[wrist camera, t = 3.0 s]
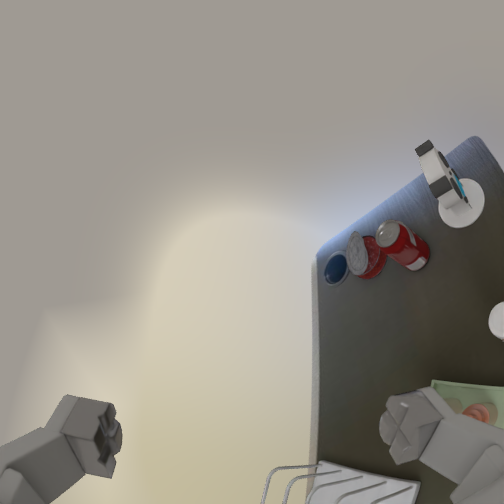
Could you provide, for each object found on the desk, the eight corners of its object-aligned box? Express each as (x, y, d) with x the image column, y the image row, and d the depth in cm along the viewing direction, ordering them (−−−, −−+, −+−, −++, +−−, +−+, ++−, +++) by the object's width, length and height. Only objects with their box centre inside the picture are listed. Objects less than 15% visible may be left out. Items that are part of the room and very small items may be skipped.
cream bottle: (463, 421, 34) (440, 427, 30) (438, 428, 38) (410, 434, 33) (461, 393, 37) (437, 393, 33) (436, 401, 41) (408, 402, 36)
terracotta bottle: (499, 426, 28) (484, 435, 23) (472, 435, 32) (450, 444, 27) (496, 397, 31) (481, 399, 26) (469, 407, 35) (448, 410, 30)
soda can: (432, 267, 53) (402, 244, 48) (405, 275, 59) (372, 254, 53) (429, 237, 56) (400, 211, 51) (404, 246, 61) (372, 223, 56)
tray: (552, 389, 23) (552, 389, 22) (534, 454, 20) (533, 456, 19) (436, 380, 43) (432, 379, 42) (420, 433, 40) (416, 434, 39)
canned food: (394, 274, 66) (375, 280, 60) (360, 278, 74) (337, 284, 68) (387, 226, 67) (366, 227, 61) (353, 233, 75) (329, 235, 69)
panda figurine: (493, 215, 43) (465, 171, 37) (447, 239, 52) (411, 204, 45) (473, 170, 50) (442, 126, 43) (433, 194, 58) (397, 156, 52)
